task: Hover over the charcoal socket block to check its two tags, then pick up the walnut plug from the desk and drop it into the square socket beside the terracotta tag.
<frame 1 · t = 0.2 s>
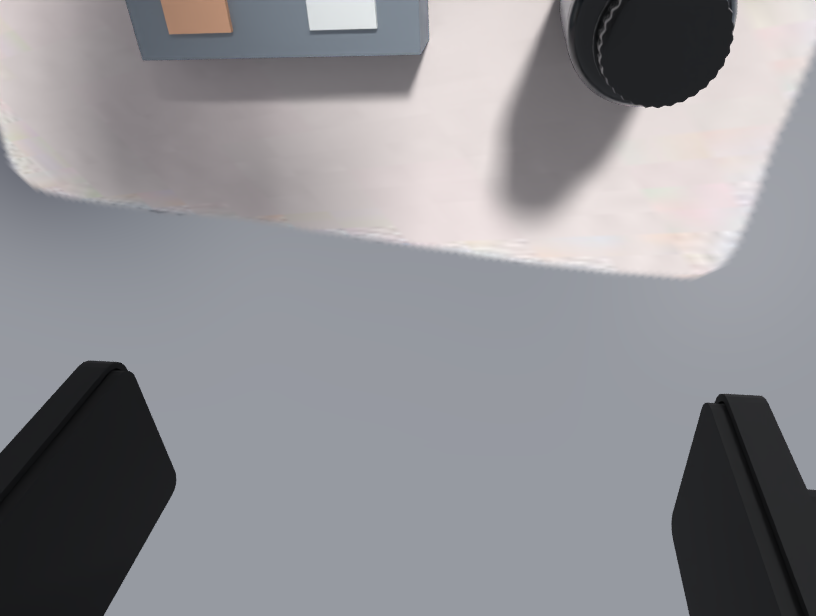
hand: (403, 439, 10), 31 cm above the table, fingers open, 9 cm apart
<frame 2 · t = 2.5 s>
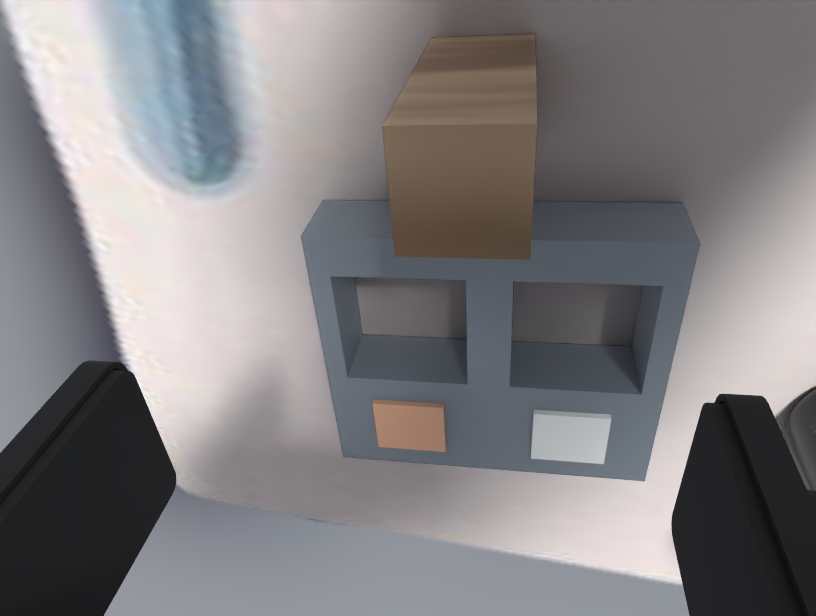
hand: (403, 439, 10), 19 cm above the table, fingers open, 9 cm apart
plug: (482, 88, 25), on the table
socket block: (492, 325, 32), on the table
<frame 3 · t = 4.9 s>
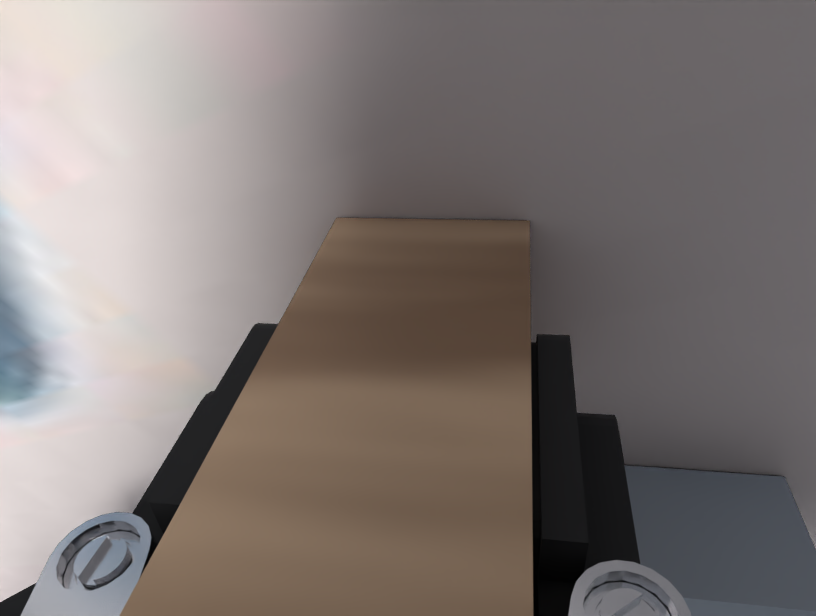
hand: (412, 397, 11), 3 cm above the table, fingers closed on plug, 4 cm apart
plug: (434, 299, 14), on the table, touching gripper
socket block: (464, 597, 21), on the table
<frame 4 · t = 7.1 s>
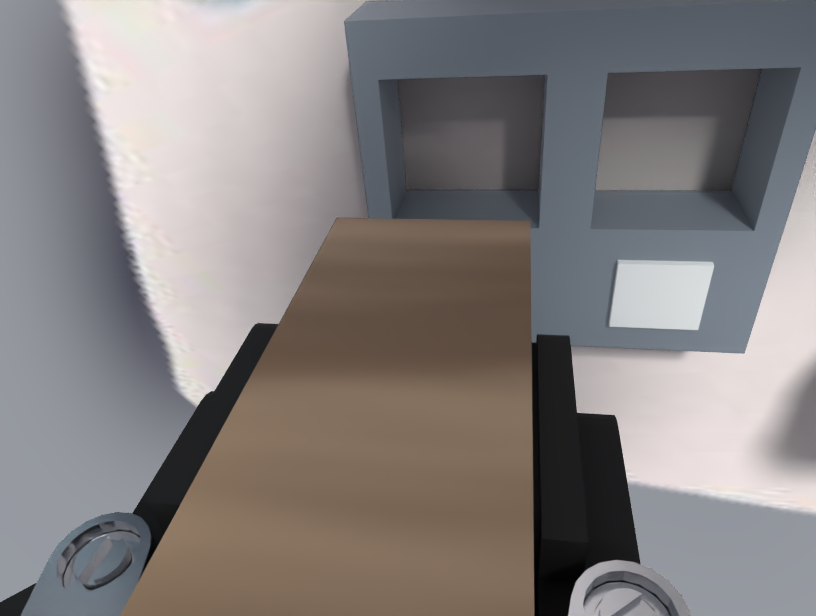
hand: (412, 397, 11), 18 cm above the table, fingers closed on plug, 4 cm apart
plug: (434, 300, 14), point 15 cm above the table, touching gripper
socket block: (563, 169, 27), on the table
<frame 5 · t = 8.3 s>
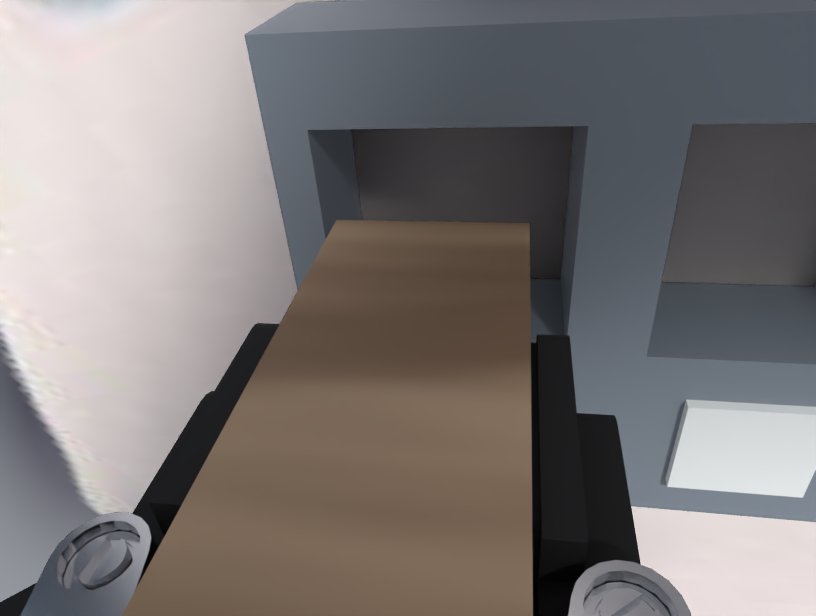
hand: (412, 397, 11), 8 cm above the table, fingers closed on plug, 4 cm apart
plug: (434, 301, 14), point 5 cm above the table, touching gripper
socket block: (598, 251, 18), on the table
when the fingers open (5 cm above the table, at t = 9.3 s): plug drops 2 cm, resting in socket block.
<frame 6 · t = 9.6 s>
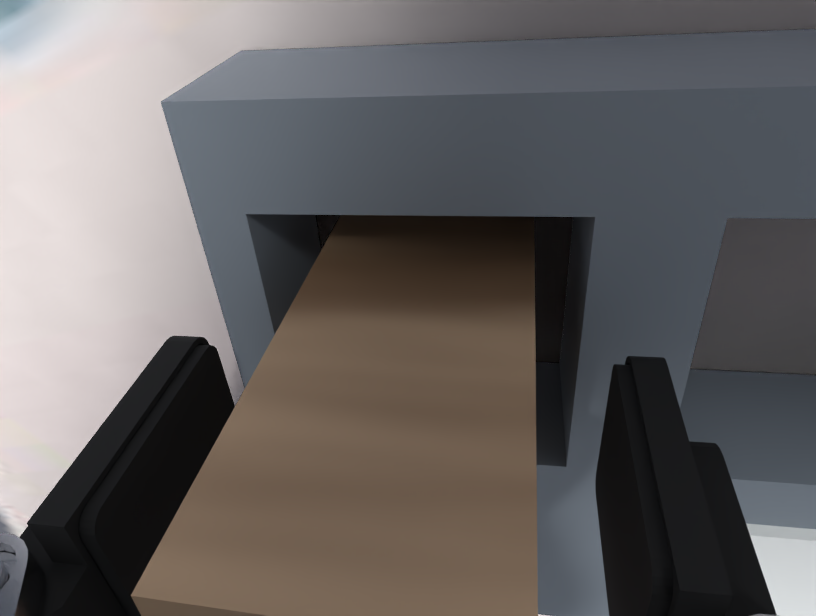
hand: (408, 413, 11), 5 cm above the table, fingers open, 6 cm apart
plug: (443, 264, 15), resting in socket block
socket block: (603, 334, 16), on the table
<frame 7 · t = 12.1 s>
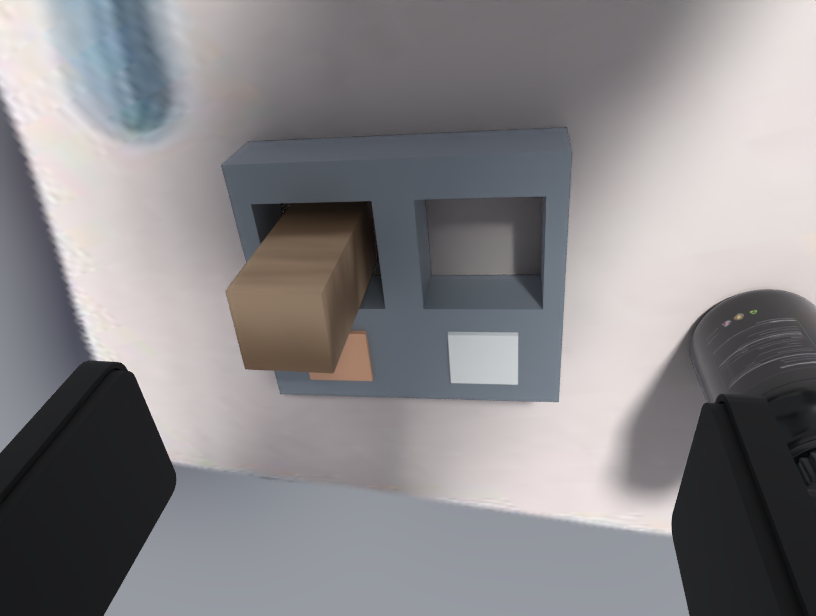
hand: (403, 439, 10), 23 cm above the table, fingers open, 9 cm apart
plug: (338, 229, 34), resting in socket block
socket block: (412, 259, 34), on the table
supplement bottle: (752, 335, 34), on the table
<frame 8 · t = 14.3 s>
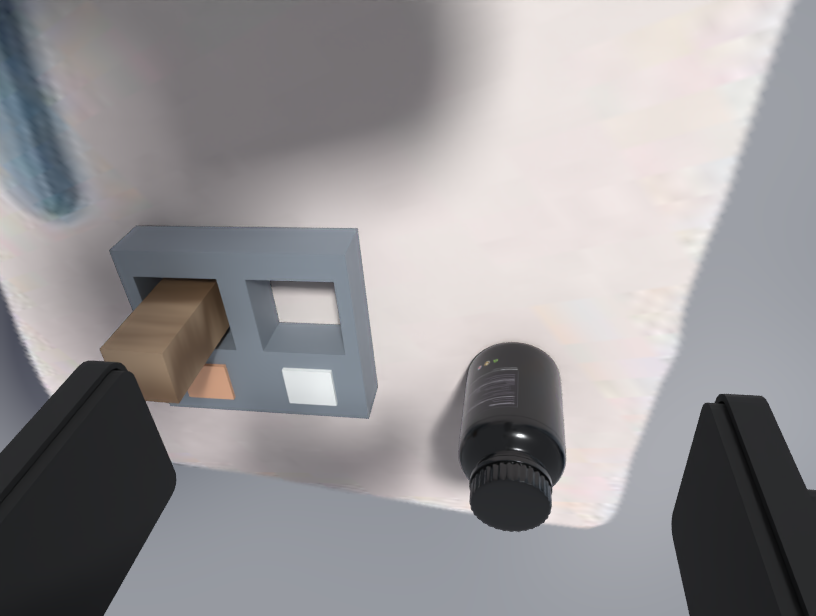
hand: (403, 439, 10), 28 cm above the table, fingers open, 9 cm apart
plug: (208, 287, 46), resting in socket block
socket block: (264, 310, 46), on the table
supplement bottle: (513, 372, 46), on the table
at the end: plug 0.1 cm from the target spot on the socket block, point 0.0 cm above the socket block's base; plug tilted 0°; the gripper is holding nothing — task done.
